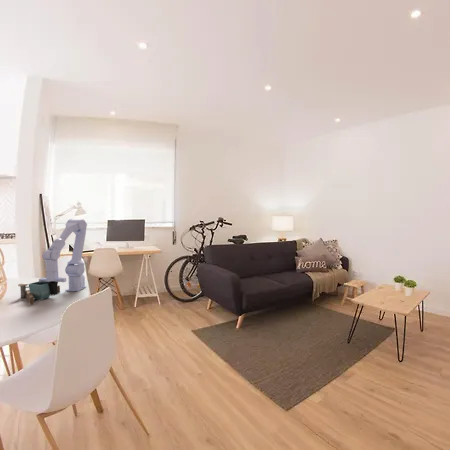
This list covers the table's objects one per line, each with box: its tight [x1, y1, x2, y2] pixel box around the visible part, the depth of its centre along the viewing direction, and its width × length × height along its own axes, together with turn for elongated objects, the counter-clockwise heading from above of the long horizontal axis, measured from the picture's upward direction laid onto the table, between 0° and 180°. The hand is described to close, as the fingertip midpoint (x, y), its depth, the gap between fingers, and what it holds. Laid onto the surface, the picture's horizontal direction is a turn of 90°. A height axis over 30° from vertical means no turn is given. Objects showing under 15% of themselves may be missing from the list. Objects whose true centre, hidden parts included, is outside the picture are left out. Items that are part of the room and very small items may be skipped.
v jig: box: [17, 282, 61, 306], centre depth 153 cm, size 23×16×8 cm
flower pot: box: [28, 280, 51, 301], centre depth 152 cm, size 9×9×9 cm
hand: (53, 294), depth 154 cm, fingers closed, pressing on flower pot
